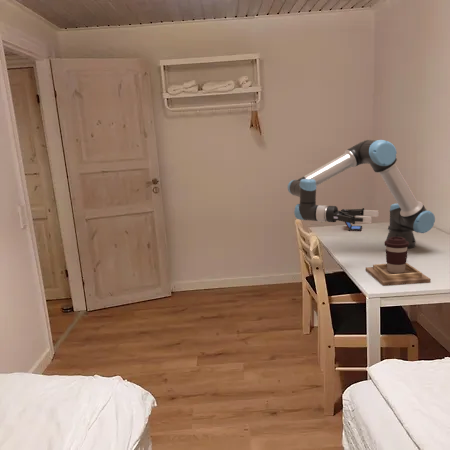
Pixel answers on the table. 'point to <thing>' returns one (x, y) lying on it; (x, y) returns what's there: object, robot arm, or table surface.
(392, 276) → the cup rack
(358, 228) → the handheld game console
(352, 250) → the table surface
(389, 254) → the coffee cup
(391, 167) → the robot arm
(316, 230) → the table surface
